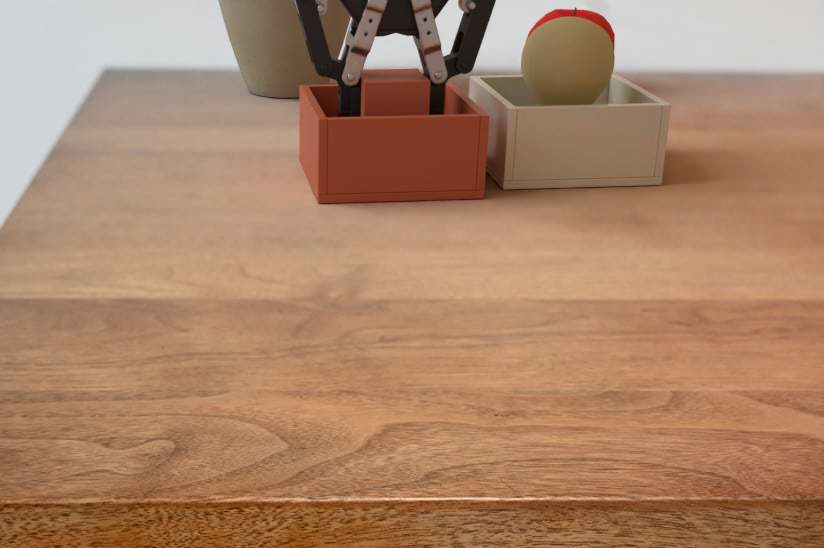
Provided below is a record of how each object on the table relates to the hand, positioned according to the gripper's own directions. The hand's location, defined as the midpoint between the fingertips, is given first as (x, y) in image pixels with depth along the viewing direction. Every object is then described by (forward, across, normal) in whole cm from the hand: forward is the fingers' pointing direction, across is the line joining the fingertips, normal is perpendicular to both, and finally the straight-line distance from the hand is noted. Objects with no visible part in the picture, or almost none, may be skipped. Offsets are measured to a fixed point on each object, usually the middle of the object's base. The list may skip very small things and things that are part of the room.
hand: (390, 135), depth 87 cm
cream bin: (+3, +13, +2) cm, 13 cm away
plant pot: (+3, -4, +31) cm, 31 cm away
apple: (+3, +22, +29) cm, 36 cm away
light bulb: (+3, +13, +2) cm, 13 cm away
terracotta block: (0, 0, 0) cm, 0 cm away
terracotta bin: (+3, 0, 0) cm, 3 cm away
